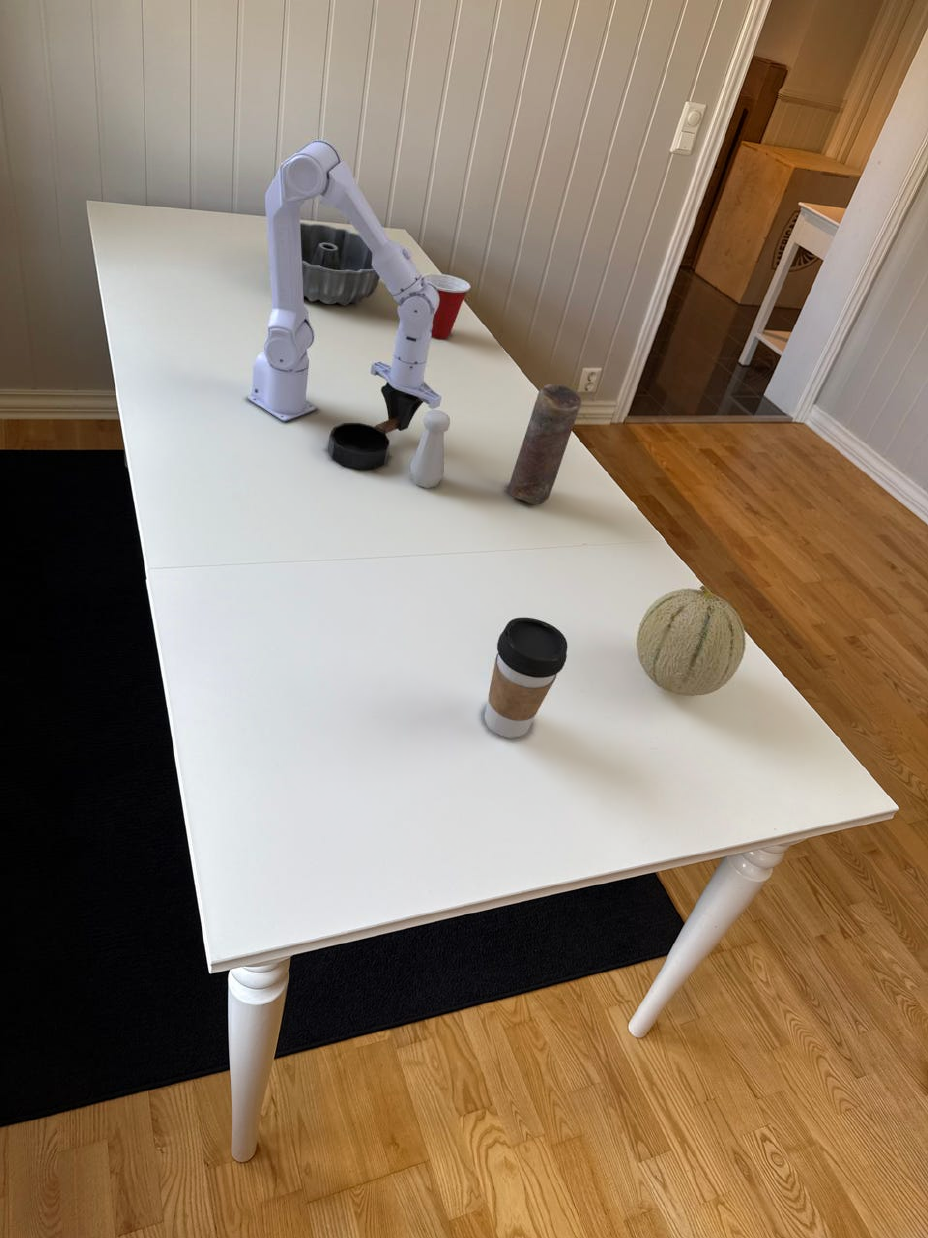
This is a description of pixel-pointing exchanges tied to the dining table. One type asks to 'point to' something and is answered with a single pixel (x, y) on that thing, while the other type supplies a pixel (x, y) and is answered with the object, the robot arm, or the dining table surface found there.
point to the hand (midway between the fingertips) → (398, 426)
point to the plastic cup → (447, 302)
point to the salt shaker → (430, 450)
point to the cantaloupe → (691, 642)
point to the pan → (361, 444)
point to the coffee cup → (523, 674)
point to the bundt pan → (335, 265)
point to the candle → (544, 443)
